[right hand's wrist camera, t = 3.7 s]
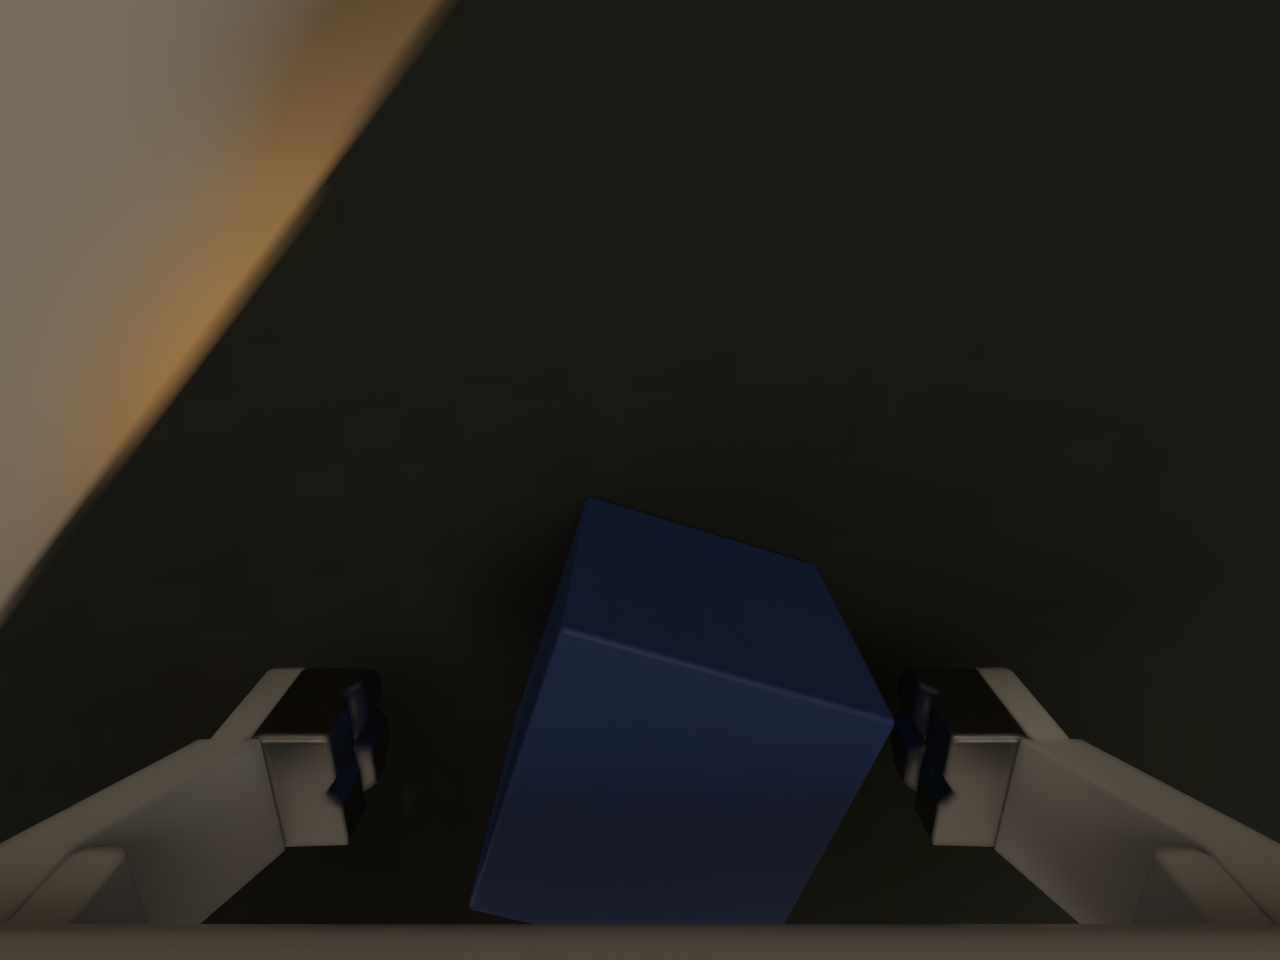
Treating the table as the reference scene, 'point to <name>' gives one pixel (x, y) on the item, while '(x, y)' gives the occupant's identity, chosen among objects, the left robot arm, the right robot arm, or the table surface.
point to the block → (678, 735)
